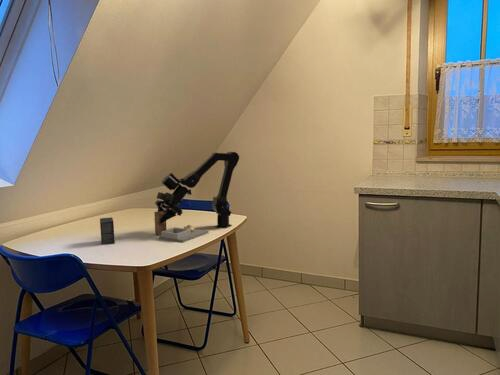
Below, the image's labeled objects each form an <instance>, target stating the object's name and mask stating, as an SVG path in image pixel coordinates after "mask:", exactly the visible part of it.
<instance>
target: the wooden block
mask: <svg viewBox="0 0 500 375" xmlns="http://www.w3.org/2000/svg"><path fill="white" fill-rule="evenodd" d="M157 211H158V210H157ZM157 211H154V213H153V214H154V219H155V220H154V232H155V233H154V234H155V235H156V236H158V237H160V236H161V232H162V231H165V230H167V220H166V221H164V222H163V223H161V222H160V220H161V218H162V217H163V215H164V214H165V212H164V211H158V212H157Z"/></svg>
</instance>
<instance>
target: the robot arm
mask: <svg viewBox="0 0 500 375" xmlns="http://www.w3.org/2000/svg"><path fill="white" fill-rule="evenodd" d="M239 160H240V155H239V154H238V152H236V151H227V152H225V153H224V152H213V153H212V154H211V155H210V156H209V157H208V158H206V160H204V161H203V163H202V164H200V165H199V166H198V167H197V168H196V169H195V170H193V171H192V172H189V173H188V174H187V175H185V176H184V177H183V178H179V179H178V178H177V177H176V176H175V175H174V174H173V173H172V172H170V173H169V174H167V175H166V176H165V177H163V179H162V180H161V184H162V185H163V186H165V187H166V188H167V189H168V190H169V191H173V192H172V193H170V192H167V191H166V192H165V193H164V192H159V191H158V192H157V195H156V199H157V200H156V201H155V203H154V204H155V206H156V207H157V211H156V212H158V211H164V212H165V214H164V215H163V217H162V218H161V220H160V222H161V223H163V222H164V221H166V222H167V221H168V220H171V219H173V218H174V217H177V216H179V217H180V216H181V215H183V209H182V208H180V207H179V204H182V203H183V199H184V198H185V197H186V195H188V196H191V195H192V188H195V187H196V186H197V184H199V181H200V179H201V178H202V177H203V176H204V175H205V174H206V173H207V172H208V171H209V170H210V169H211V168H212V167H213V166H214V165H215V164H216V163H217V162H218V161H223V164H224V169H223V174H222V178H221V181H220V186H219V190H218V193H217V195H216V196H213V197H212V202H211V205H212V206H211V207H212V210H214V212H215V213H216V215H217V217H216V218H217V219H216V222H217V223H216V224H217V225H215V226H214V227H216V228H222V229H223V228H224V229H226V228H229V227H231V226H232V223H231V224H230V216H231V213H232V212H231V210H230V209H228V198H227V197H228V192H229V188H230V184H231V180H232V175H233V172H234V170H235V168H236V167H237V165H238V162H239ZM189 188H190V189H189ZM154 221H155V218H154Z"/></svg>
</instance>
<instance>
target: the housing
mask: <svg viewBox="0 0 500 375" xmlns="http://www.w3.org/2000/svg"><path fill="white" fill-rule="evenodd" d="M206 234H209V230H206V229H204V230H203V229H198V228H195V226H192V225H191V224H187V226H183V228H181V227H176V226H175V227H172V228H168V229H166V230H165V231H162V232H161V236H158V239H159V240H165V241H170V242H171V241H172V242H177V243H185V242H187V241H190V240H193V239H196V238H198V237H201V236H203V235H204V236H205V235H206Z"/></svg>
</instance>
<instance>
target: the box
mask: <svg viewBox="0 0 500 375" xmlns="http://www.w3.org/2000/svg"><path fill="white" fill-rule="evenodd" d="M113 219H114V218H113V217H112V216H111V217H102V218H101V217H100V218H99V227H100V228H99V229H100V241H101V246H102V245H103V246H104V245H113V244H115V243H116V242H115V241H116V240H115V226H114V220H113Z"/></svg>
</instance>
